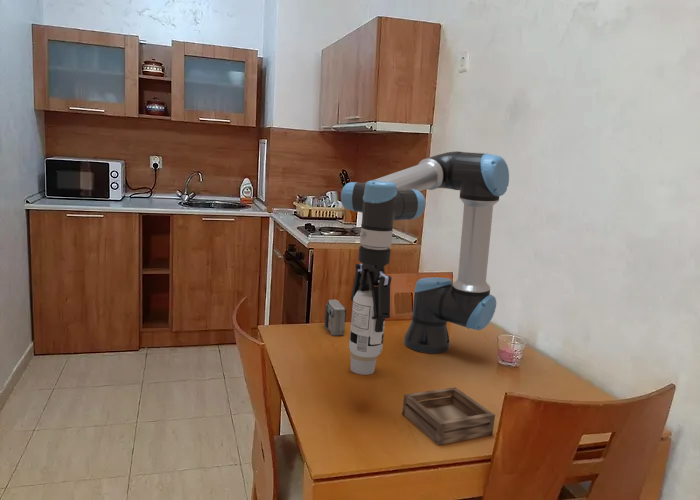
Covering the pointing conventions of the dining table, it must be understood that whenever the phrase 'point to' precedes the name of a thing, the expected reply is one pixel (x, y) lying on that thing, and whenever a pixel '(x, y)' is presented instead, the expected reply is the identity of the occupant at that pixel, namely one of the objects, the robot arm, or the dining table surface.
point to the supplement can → (363, 326)
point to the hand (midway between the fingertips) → (366, 337)
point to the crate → (448, 415)
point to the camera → (335, 317)
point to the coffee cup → (362, 364)
